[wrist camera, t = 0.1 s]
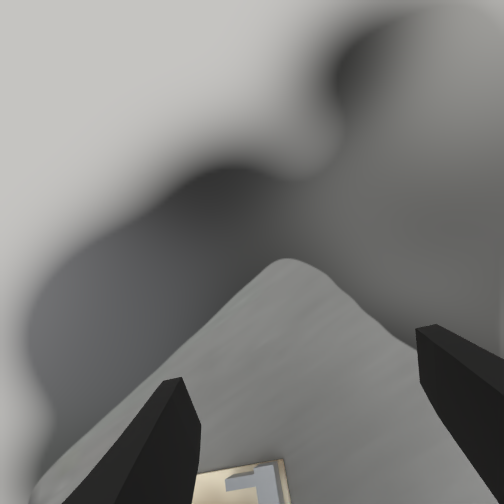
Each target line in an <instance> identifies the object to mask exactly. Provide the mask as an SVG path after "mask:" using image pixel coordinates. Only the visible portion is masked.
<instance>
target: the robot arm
mask: <svg viewBox="0 0 504 504" xmlns="http://www.w3.org/2000/svg"><path fill="white" fill-rule="evenodd" d="M415 330H416V341H417V353H418V365H419V376H420V384H421V385H422V387H423V389H424V391H425V393H426V395H427V397H428V399H429V400H430V402H431V404H432V406H433V408H434V409H435V411H436V413H437V415H438V416H439V418H440V419H441V421H442V422H443V424H444V425H445V427H446V428H447V430H448V431H449V432H450V434H451V435H452V437H453V438H454V440H455V441H456V443H457V444H458V445H459V447H460V448H461V450H462V451H463V453H464V454H465V455H466V457H467V458H468V460H469V461H470V462H471V464H472V465H473V467H474V468H475V470H476V471H477V472H478V474H479V475H480V477H481V478H482V480H483V481H484V482H485V484H486V485H487V487H488V488H489V489H490V491H491V492H492V494H493V495H494V497H495V498H496V499H497V501H498V503H499V504H504V359H502V358H500V357H498V356H496V355H494V354H492V353H490V352H488V351H487V350H485V349H482V348H481V347H479V346H477V345H475V344H473V343H471V342H470V341H468V340H466V339H464V338H462V337H460V336H458V335H457V334H455V333H453V332H451V331H449V330H447V329H445V328H443V327H441V326H439V325H437V324H435V325H430V326H426V327H421V328H416V329H415ZM200 440H201V423H200V421H199V418H198V416H197V413H196V411H195V409H194V406H193V404H192V401H191V399H190V396H189V394H188V391H187V389H186V386H185V384H184V381H183V379H182V377H179V378H174V379H170V380H165V381H163V382H162V383H161V384H160V385H159V387H158V388H157V389H156V390H155V392H154V393H153V394H152V396H151V397H150V398H149V400H148V401H147V402H146V404H145V405H144V406H143V408H142V409H141V410H140V411H139V413H138V414H137V415H136V417H135V418H134V419H133V421H132V422H131V423H130V424H129V426H128V427H127V428H126V430H125V431H124V432H123V433H122V435H121V436H120V437H119V439H118V440H117V441H116V442H115V443H114V445H113V446H112V447H111V448H110V449H109V451H108V452H107V453H106V454H105V455H104V457H103V458H102V459H101V460H100V461H99V463H98V464H97V465H96V466H95V467H94V469H93V470H92V471H91V472H90V473H89V475H88V476H87V477H86V478H85V479H84V480H83V481H82V482H81V484H80V485H79V486H78V487H77V488H76V489H75V490H74V491H73V492H72V493H71V495H70V496H69V497H68V498H67V499H66V500H65V501H64V502H63V503H62V504H192V499H193V494H194V488H195V482H196V476H197V471H198V464H199V455H200Z"/></svg>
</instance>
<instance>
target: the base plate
mask: <svg viewBox="0 0 504 504" xmlns="http://www.w3.org/2000/svg"><path fill="white" fill-rule="evenodd" d="M274 461H277V462H278V468H279V474H280V480H281V486H282V492H283V497H284V503H285V504H291V499H290V494H289V488H288V483H287V477H286V471H285V466H284V460H283V459H278V460H273V461H267V462H261V463H256V464H250V465H245V466H239V467H234V468H228V469H222V470H217V471H211V472H206V473H200V474H197V476H196V482H195V488H194V494H193V499H192V504H258V498H257V491H256V487H251V488H245V489H239V490H233V491H227V492H226V486H225V479H226V478H228V477H230V476H231V475H233V474H238V473H243V472H249V471H254V469H253V468H254V467H256V466H257V465H259V464H262V463H268V462H274Z"/></svg>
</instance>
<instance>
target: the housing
mask: <svg viewBox="0 0 504 504" xmlns="http://www.w3.org/2000/svg"><path fill="white" fill-rule="evenodd" d="M253 469H254V471H249V472H243V473H238V474H233V475H231V476H230V477H228V478H226V479H225V486H226V492H227V491H233V490H239V489H245V488H251V487H256V491H257V498H258V504H285V503H284V497H283V492H282V486H281V480H280V474H279V468H278V462H277V461H274V462H268V463H262V464H259V465H257V466H256V467H254V468H253Z"/></svg>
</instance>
